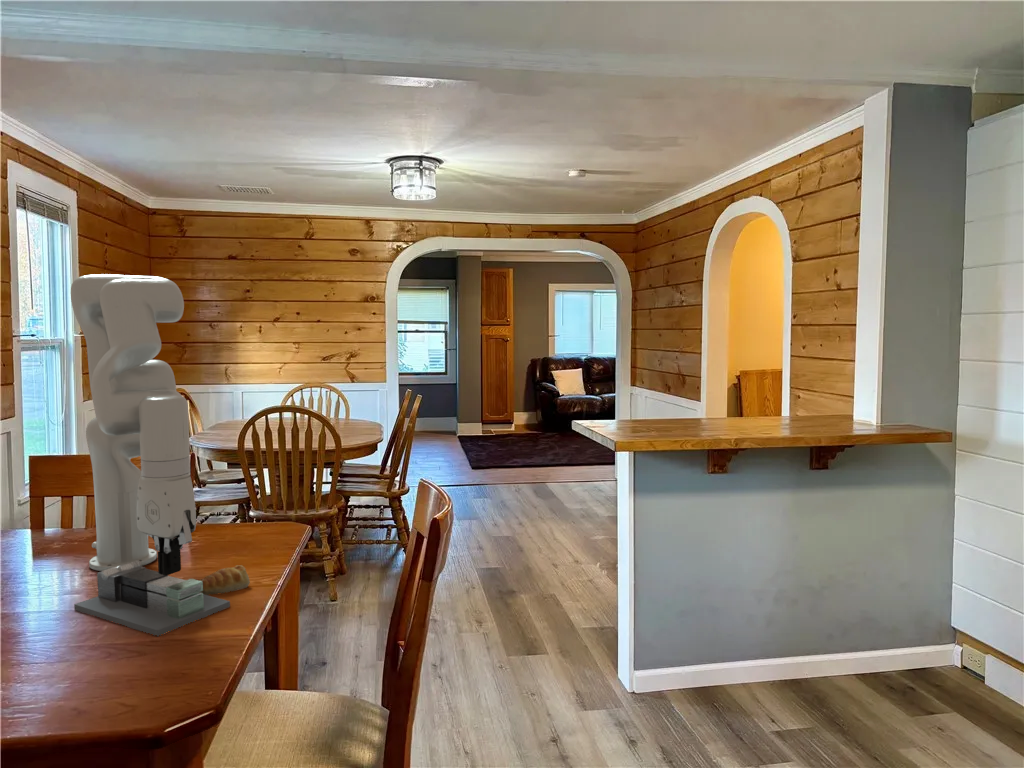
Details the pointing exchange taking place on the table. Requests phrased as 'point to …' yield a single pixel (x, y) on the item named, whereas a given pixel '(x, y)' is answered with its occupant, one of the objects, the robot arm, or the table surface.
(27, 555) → the table surface
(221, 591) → the pastry
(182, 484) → the robot arm
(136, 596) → the stand
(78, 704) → the table surface
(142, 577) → the bar
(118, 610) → the slate mat
